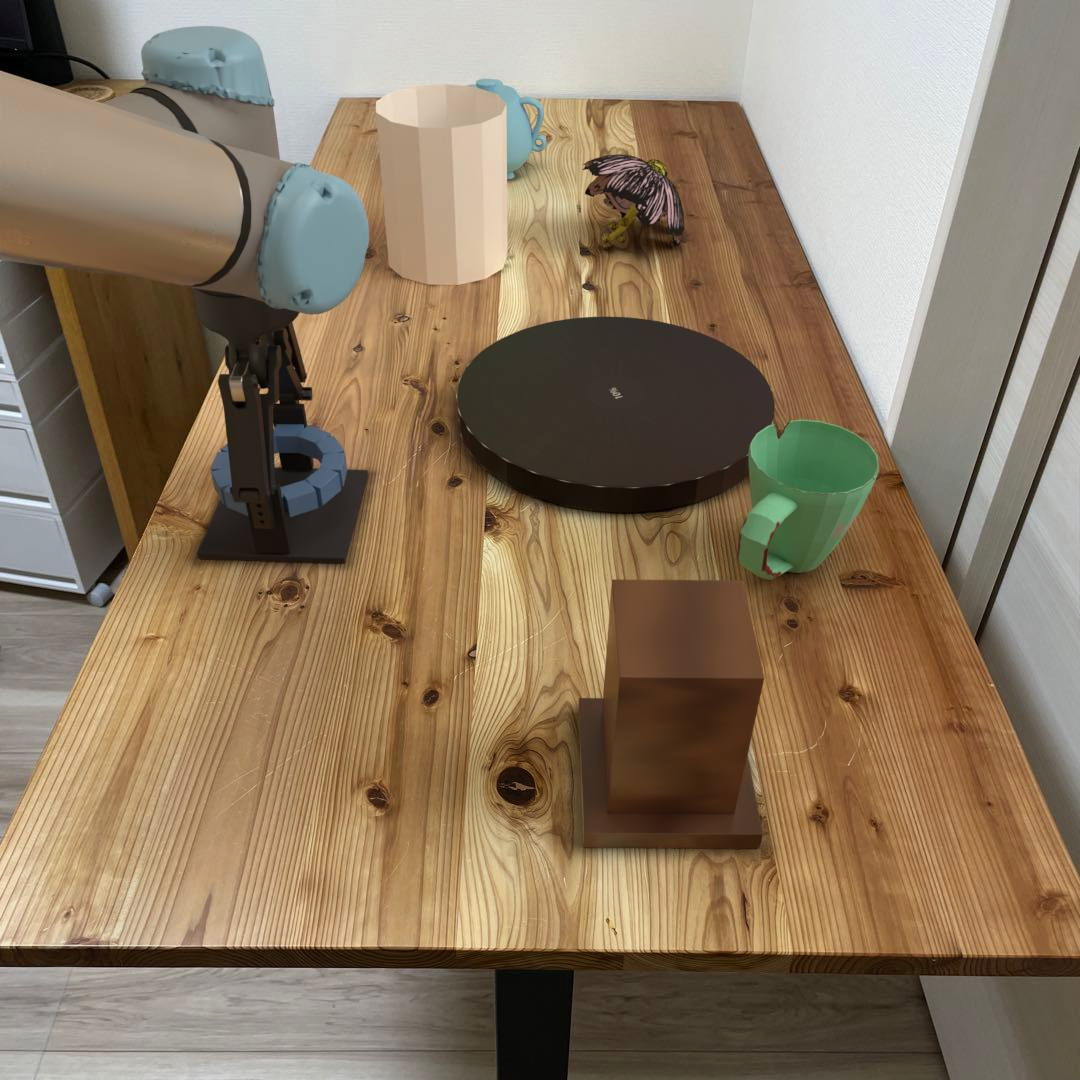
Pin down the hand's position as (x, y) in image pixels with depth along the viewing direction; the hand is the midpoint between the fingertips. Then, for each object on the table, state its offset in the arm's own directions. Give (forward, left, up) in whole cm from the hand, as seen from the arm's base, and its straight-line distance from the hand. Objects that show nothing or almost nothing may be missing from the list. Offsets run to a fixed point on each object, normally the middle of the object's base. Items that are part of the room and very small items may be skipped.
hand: (286, 507), depth 91 cm
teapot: (+46, +66, -1) cm, 80 cm away
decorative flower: (+53, +36, -1) cm, 64 cm away
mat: (0, 0, -1) cm, 1 cm away
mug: (+34, -23, -1) cm, 42 cm away
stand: (+15, -37, -1) cm, 40 cm away
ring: (0, 0, +3) cm, 3 cm away
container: (+30, +41, -1) cm, 51 cm away
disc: (+32, +2, -1) cm, 33 cm away
